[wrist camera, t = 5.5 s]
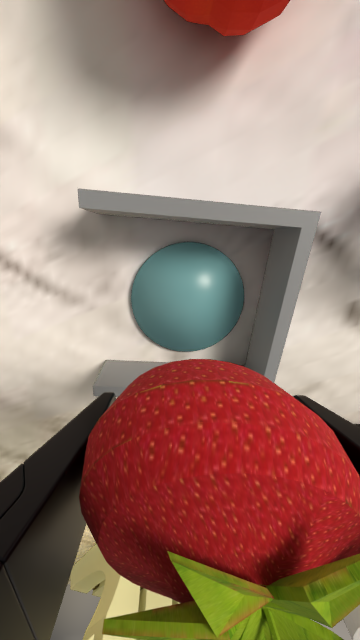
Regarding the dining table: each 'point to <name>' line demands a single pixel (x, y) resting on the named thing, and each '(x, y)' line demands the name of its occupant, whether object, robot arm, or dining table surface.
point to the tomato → (228, 13)
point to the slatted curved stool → (111, 593)
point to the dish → (353, 623)
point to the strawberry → (223, 507)
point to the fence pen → (208, 281)
